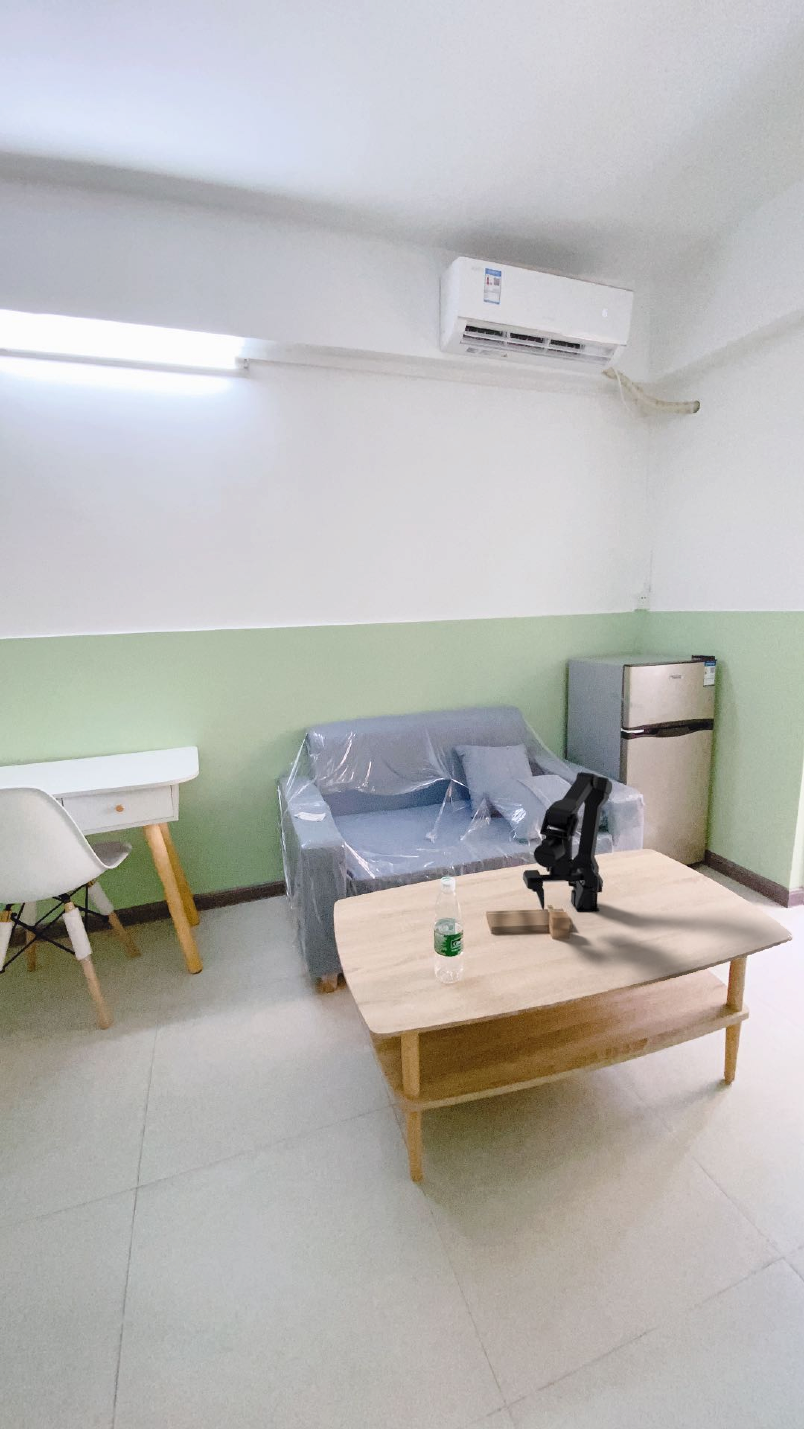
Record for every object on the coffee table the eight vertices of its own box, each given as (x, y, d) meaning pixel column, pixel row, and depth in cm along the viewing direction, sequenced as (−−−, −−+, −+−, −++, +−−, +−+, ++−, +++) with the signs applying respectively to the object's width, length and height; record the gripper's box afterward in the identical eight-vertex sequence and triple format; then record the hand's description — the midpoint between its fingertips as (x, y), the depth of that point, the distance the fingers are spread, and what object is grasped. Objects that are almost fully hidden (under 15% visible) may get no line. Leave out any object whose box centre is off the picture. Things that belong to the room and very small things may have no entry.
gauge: (557, 916, 155) (557, 897, 154) (569, 938, 145) (569, 917, 144) (541, 917, 155) (541, 898, 154) (552, 938, 144) (552, 918, 143)
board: (562, 915, 156) (562, 908, 155) (571, 930, 148) (571, 923, 148) (486, 917, 156) (486, 911, 155) (491, 933, 148) (491, 926, 147)
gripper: (585, 839, 150) (584, 891, 153) (518, 842, 150) (518, 894, 153) (600, 856, 139) (598, 912, 142) (528, 859, 139) (527, 915, 142)
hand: (559, 907), depth 145 cm, fingers open, 9 cm apart
